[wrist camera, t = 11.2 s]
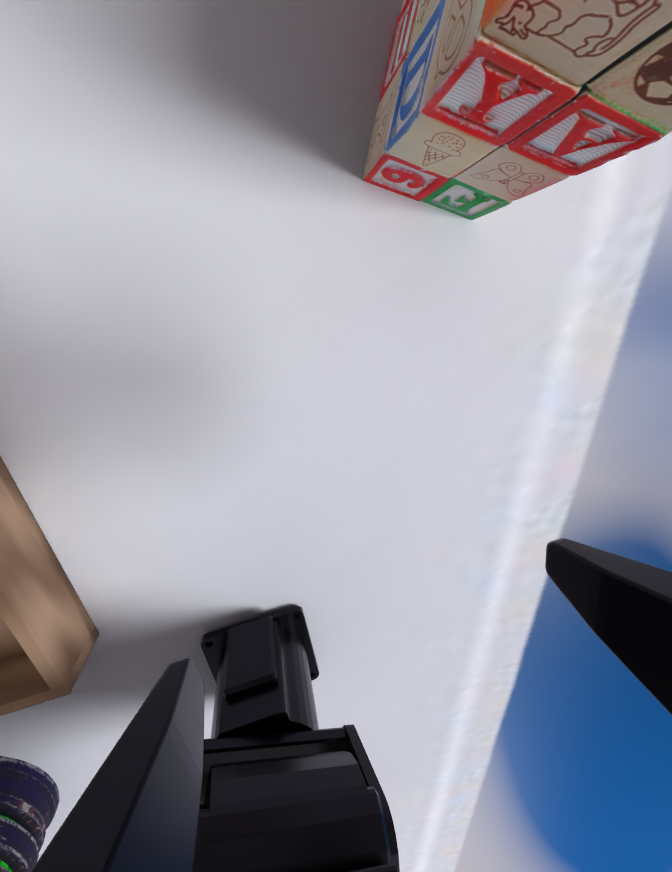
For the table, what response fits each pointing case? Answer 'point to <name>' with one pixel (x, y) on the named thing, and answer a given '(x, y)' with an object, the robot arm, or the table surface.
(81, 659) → the walnut crate
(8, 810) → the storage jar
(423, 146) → the stack of blocks
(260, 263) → the table surface
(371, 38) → the table surface
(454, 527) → the table surface
